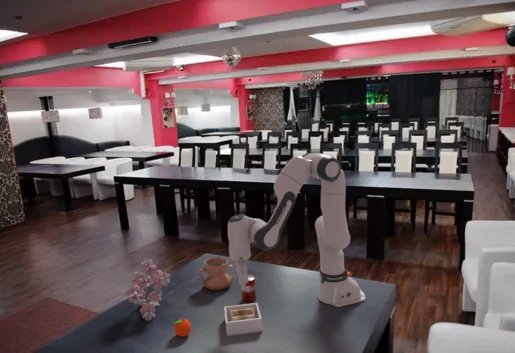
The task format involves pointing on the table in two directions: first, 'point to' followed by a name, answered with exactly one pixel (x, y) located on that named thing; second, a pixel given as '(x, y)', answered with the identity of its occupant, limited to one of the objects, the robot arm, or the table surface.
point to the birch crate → (242, 314)
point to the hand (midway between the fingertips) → (242, 283)
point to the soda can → (249, 291)
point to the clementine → (182, 327)
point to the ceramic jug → (216, 273)
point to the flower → (138, 290)
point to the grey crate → (243, 325)
